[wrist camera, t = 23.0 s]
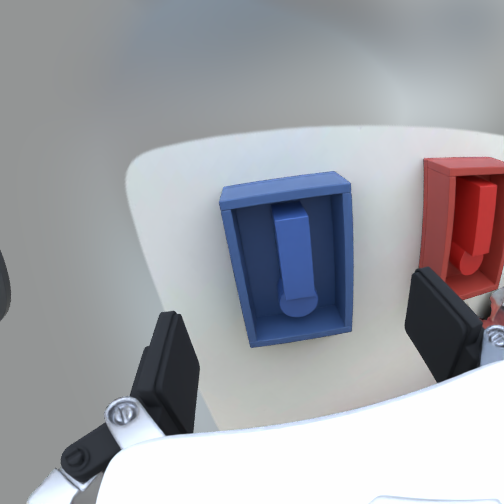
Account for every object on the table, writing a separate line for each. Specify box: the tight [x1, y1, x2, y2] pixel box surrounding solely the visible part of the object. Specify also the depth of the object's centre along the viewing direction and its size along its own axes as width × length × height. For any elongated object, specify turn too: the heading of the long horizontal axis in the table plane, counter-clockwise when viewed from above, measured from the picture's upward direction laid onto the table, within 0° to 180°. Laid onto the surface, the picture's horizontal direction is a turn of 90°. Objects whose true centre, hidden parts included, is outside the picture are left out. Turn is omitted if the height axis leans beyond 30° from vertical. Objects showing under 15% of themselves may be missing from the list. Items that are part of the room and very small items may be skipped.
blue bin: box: [219, 171, 354, 348], centre depth 21 cm, size 11×8×4 cm
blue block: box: [271, 201, 318, 317], centre depth 21 cm, size 8×3×3 cm, turn 9°
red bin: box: [419, 157, 504, 300], centre depth 20 cm, size 11×8×4 cm
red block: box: [449, 175, 497, 275], centre depth 20 cm, size 8×3×3 cm, turn 9°
